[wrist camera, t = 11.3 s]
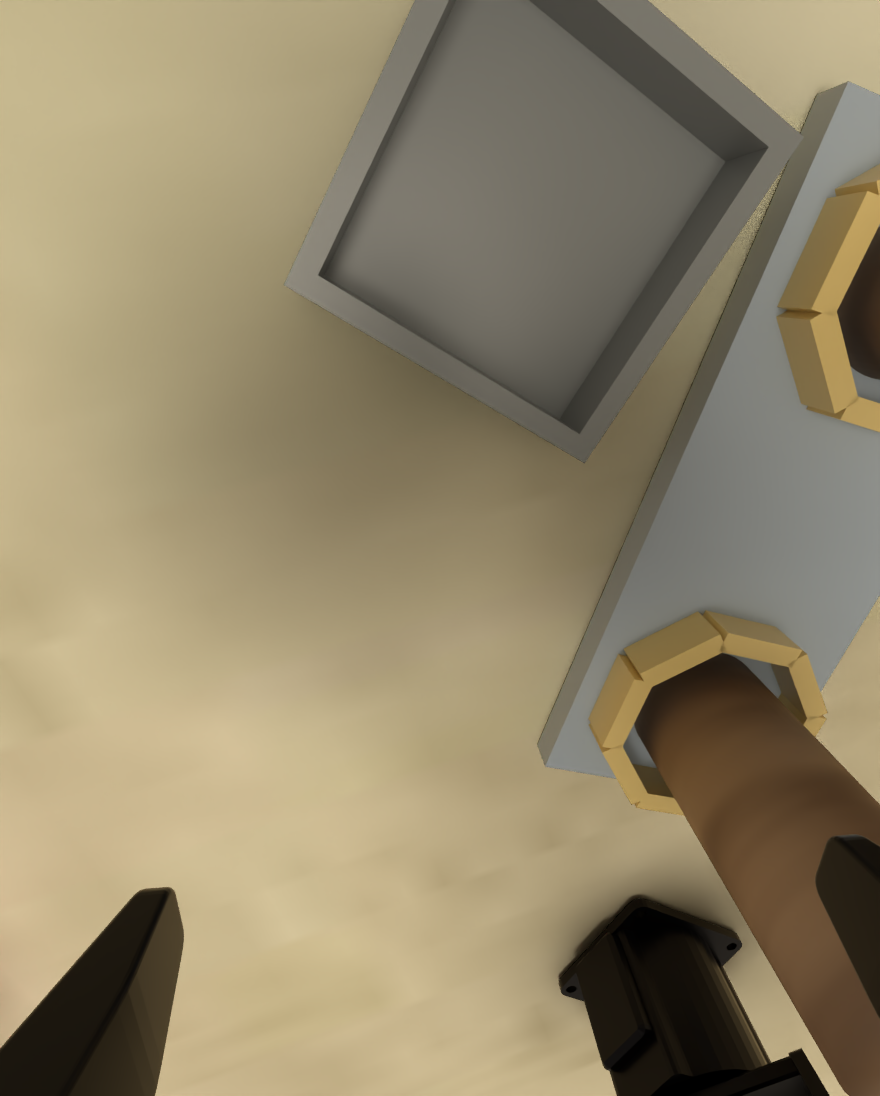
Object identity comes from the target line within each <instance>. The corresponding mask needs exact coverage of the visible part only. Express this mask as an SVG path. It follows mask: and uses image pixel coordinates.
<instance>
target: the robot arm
mask: <svg viewBox="0 0 880 1096" xmlns="http://www.w3.org/2000/svg"><path fill="white" fill-rule="evenodd" d="M815 884H816V889H817V892H818V895H819V897H820V899H821V902H822V904H823V906H824V908H825V910H826V912H827V914H828V916H829V918H830V920H831V922H832V924H833V926H834V928H835V930H836V933H837V935H838V937H839V939H840V941H841V943H842V945H843V947H844V949H845V951H846V953H847V955H848V957H849V959H850V961H851V964H852V966H853V968H854V970H855V972H856V974H857V976H858V978H859V980H860V982H861V984H862V986H863V988H864V990H865V992H866V994H867V996H868V998H869V1000H870V1002H871V1004H872V1006H873V1008H874V1010H875V1012H876V1014H877V1015H878V1017H879V1019H880V846H879V845H877V844H876V843H874V842H873V841H871V840H869V839H868V838H866V837H864V836H861V835H857V834H850V835H837V836H832V837H831V838H829V839H828V841H827V843H826V845H825V848H824V851H823V854H822V857H821V860H820V863H819V866H818V869H817V872H816V875H815ZM183 942H184V930H183V925H182V921H181V916H180V912H179V907H178V903H177V898H176V894H175V892H174V890H173V889H172V888H170V887H162V888H149V889H143V890H140V891H139V892H137V893H136V894H135V895H134V896H133V897H132V898H131V899H130V900H129V902H128V903H127V904H126V905H125V906H124V907H123V908H122V910H121V911H120V912H119V913H118V914H117V915H116V916H115V918H114V919H113V920H112V921H111V922H110V923H109V924H108V926H107V927H106V928H105V929H104V930H103V931H102V932H101V934H100V935H99V936H98V937H97V938H96V939H95V940H94V942H93V943H92V944H91V945H90V946H89V947H88V949H87V950H86V951H85V952H84V953H83V954H82V955H81V957H80V958H79V959H78V960H77V961H76V962H75V963H74V965H73V966H72V967H71V968H70V969H69V970H68V971H67V973H66V974H65V975H64V976H63V977H62V978H61V979H60V981H59V982H58V983H57V984H56V985H55V986H54V987H53V989H52V990H51V991H50V992H49V993H48V994H47V995H46V997H45V998H44V999H43V1000H42V1001H41V1002H40V1003H39V1005H38V1006H37V1007H36V1008H35V1009H34V1010H33V1012H32V1013H31V1014H30V1015H29V1016H28V1017H27V1018H26V1020H25V1021H24V1022H23V1023H22V1024H21V1025H20V1026H19V1028H18V1029H17V1030H16V1031H15V1032H14V1033H13V1034H12V1036H11V1037H10V1038H9V1039H8V1040H7V1041H6V1042H5V1044H4V1045H3V1046H2V1047H1V1048H0V1096H155V1093H156V1089H157V1084H158V1079H159V1075H160V1070H161V1065H162V1059H163V1054H164V1048H165V1043H166V1037H167V1032H168V1027H169V1021H170V1016H171V1010H172V1005H173V999H174V994H175V989H176V983H177V978H178V972H179V967H180V962H181V956H182V950H183ZM741 947H742V943H741V941H740V939H739V937H738V935H737V933H735V932H733V931H730V930H728V929H725V928H722V927H719V926H717V925H714V924H711V923H708V922H706V921H703V920H700V919H697V918H695V917H692V916H689V915H687V914H684V913H681V912H678V911H676V910H673V909H670V908H667V907H665V906H662V905H659V904H656V903H654V902H651V901H648V900H645V899H636V900H633V901H632V902H630V903H629V904H628V905H627V906H626V907H625V909H624V910H623V911H622V912H621V913H620V914H619V915H618V916H617V917H616V918H615V919H614V921H613V922H612V923H611V924H610V925H609V926H608V927H607V928H606V929H605V930H604V931H603V932H602V934H601V935H600V936H599V937H598V938H597V939H596V940H595V941H594V942H593V943H592V944H591V946H590V947H589V948H588V949H587V950H586V951H585V952H584V953H583V954H582V955H581V956H580V957H579V959H578V960H577V961H576V962H575V963H574V964H573V965H572V966H571V967H570V968H569V969H568V971H567V972H566V973H565V974H564V975H563V976H562V977H561V978H560V980H559V986H560V990H561V993H562V994H563V995H565V996H568V997H571V998H575V999H578V1000H582V1001H584V1002H585V1005H586V1009H587V1012H588V1016H589V1019H590V1022H591V1026H592V1029H593V1033H594V1036H595V1040H596V1043H597V1047H598V1050H599V1053H600V1057H601V1060H602V1064H603V1066H604V1068H605V1069H606V1070H609V1071H610V1074H611V1077H612V1081H613V1084H614V1087H615V1091H616V1094H617V1096H829V1094H828V1092H827V1090H826V1089H825V1087H824V1085H823V1084H822V1082H821V1080H820V1079H819V1077H818V1075H817V1074H816V1072H815V1070H814V1069H813V1067H812V1065H811V1063H810V1062H809V1060H808V1058H807V1057H806V1055H805V1053H804V1052H803V1050H802V1049H798V1050H795V1051H793V1052H790V1053H788V1054H789V1056H788V1057H785V1058H783V1059H780V1060H777V1061H775V1062H772V1063H771V1061H770V1059H769V1057H768V1055H767V1053H766V1051H765V1049H764V1047H763V1045H762V1043H761V1041H760V1040H759V1038H758V1036H757V1034H756V1032H755V1030H754V1028H753V1026H752V1024H751V1022H750V1020H749V1018H748V1016H747V1014H746V1012H745V1010H744V1008H743V1006H742V1004H741V1002H740V1000H739V998H738V996H737V994H736V992H735V990H734V988H733V986H732V984H731V982H730V980H729V978H728V976H727V974H726V972H725V970H724V968H723V965H724V964H725V963H726V962H727V961H728V960H729V959H730V958H731V957H732V956H733V955H734V954H735V953H736V952H737V951H738V950H740V948H741Z"/></svg>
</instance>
